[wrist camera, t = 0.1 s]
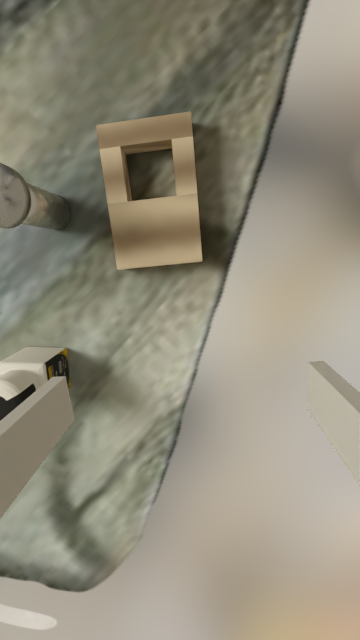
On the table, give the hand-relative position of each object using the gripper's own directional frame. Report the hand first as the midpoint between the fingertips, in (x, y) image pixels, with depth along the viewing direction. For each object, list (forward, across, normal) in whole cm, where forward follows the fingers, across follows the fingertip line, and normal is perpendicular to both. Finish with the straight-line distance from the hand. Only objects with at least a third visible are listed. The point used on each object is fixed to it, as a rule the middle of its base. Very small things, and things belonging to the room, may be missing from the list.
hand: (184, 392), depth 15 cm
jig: (+28, -4, +15) cm, 32 cm away
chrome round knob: (+28, -19, +15) cm, 37 cm away
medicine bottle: (+28, -25, -9) cm, 39 cm away
